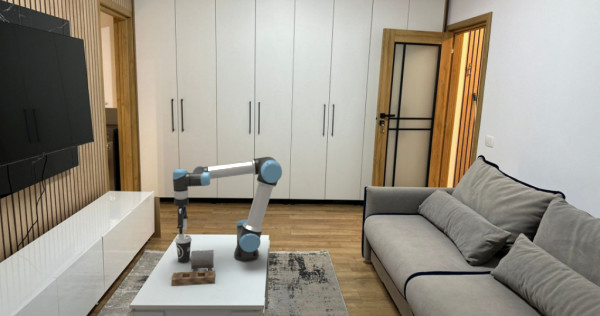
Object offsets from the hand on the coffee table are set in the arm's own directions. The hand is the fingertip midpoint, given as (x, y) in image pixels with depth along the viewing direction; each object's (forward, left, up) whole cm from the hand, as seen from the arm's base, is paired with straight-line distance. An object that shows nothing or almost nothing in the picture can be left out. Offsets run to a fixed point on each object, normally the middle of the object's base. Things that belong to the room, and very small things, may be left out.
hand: (183, 234), depth 221 cm
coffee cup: (+2, -14, -22) cm, 26 cm away
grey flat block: (-10, +2, -22) cm, 24 cm away
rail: (-6, +12, -22) cm, 26 cm away
